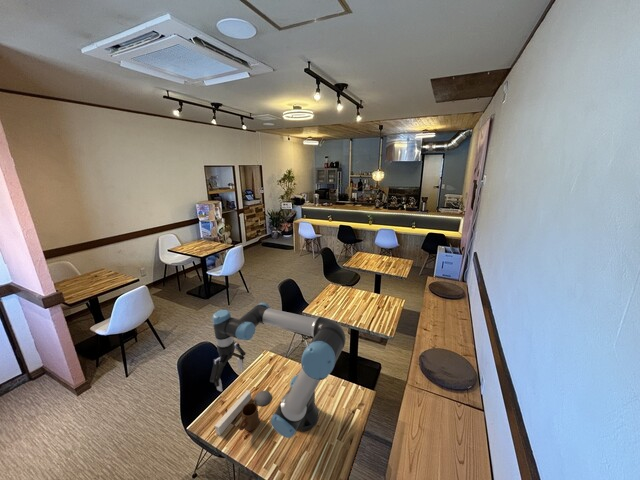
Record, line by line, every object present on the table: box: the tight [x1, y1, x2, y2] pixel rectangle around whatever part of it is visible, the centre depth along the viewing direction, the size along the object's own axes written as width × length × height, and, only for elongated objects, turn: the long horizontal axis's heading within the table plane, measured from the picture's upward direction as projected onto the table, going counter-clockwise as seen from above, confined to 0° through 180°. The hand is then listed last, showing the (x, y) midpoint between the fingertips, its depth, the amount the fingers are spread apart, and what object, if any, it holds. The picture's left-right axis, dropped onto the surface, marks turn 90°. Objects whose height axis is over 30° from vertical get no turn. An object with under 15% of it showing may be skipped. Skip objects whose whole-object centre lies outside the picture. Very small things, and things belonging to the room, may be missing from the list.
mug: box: [238, 402, 260, 431], centre depth 123 cm, size 12×8×9 cm, turn 160°
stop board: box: [214, 389, 252, 436], centre depth 130 cm, size 2×22×5 cm, turn 153°
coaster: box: [254, 390, 272, 407], centre depth 140 cm, size 9×9×1 cm
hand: (230, 379), depth 124 cm, fingers open, 13 cm apart
